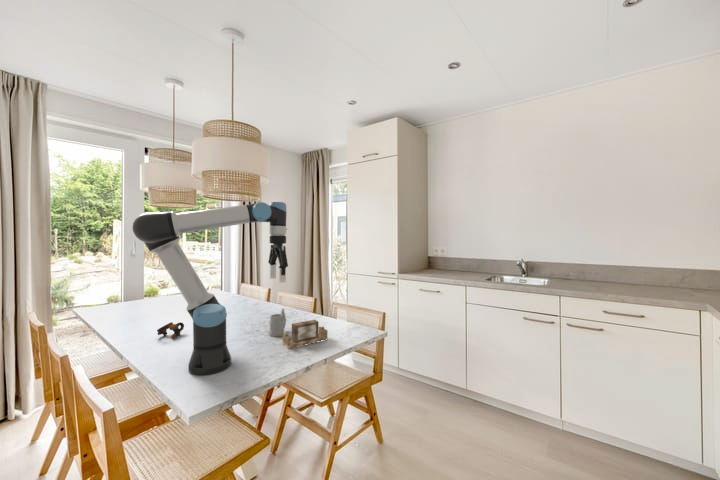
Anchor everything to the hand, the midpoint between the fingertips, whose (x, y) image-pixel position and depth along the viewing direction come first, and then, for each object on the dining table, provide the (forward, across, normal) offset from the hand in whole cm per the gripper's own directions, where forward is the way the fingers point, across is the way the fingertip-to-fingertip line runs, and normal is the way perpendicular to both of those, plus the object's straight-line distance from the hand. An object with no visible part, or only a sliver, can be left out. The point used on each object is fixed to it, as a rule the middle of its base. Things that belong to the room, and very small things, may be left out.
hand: (277, 280), depth 145 cm
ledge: (+30, -6, -12) cm, 33 cm away
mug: (+30, +14, -6) cm, 34 cm away
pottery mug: (+31, +39, +41) cm, 65 cm away
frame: (+28, -6, -12) cm, 31 cm away
